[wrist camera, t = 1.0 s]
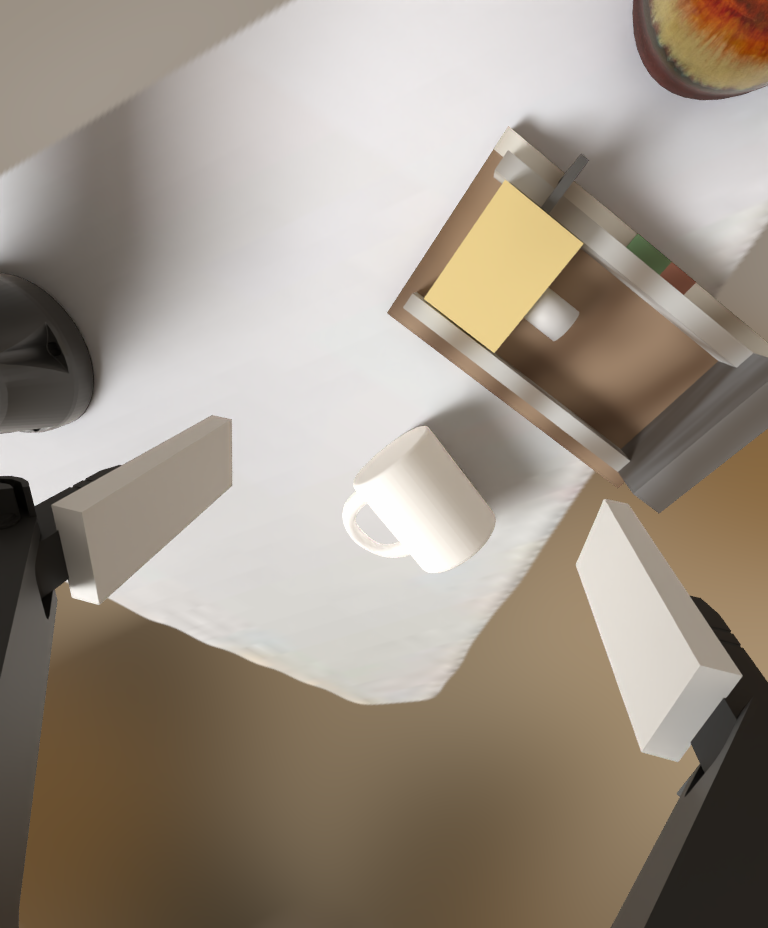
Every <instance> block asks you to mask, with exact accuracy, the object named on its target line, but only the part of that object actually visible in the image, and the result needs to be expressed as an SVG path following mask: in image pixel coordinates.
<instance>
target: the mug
mask: <svg viewBox="0 0 768 928" xmlns="http://www.w3.org/2000/svg"><path fill="white" fill-rule="evenodd" d="M353 486H354V488H355V489H356V491H355V492H354V493H353V494H352V495H351V496H350V497H349V498H348V500H347V501H346V503H345V505H344V508H343V522H344V525H345V528H346V530H347V532H348V534H349V535H350V536H351V538H352V539H353V540H354V541H355V542H356V543H357V544H358V545H360V546H361V547H363V548H364V549H366V550H368V551H370V552H372V553H374V554H377V555H380V556H383V557H389V558H399V557H405V556H408V555H411V556H412V557H413V558H414V559H415V561H416V562H417V563H418V564H419V565H420V566H421V568H422V569H423V570H425V571H427V572H430V573H440V572H444V571H447V570H450V569H453V568H455V567H457V566H459V565H460V564H462V563H464V562H465V561H467V560H468V559H469V558H471V557H472V556H473V555H474V554H475V553H477V552H478V551H479V550H480V549H481V548H482V547H483V545H484V544H485V543H486V542H487V540H488V539H489V537H490V536H491V534H492V532H493V530H494V527H495V522H496V519H495V514H494V513H493V511H492V510H491V508H490V507H489V506H488V505H487V503H486V502H485V501H484V499H483V498H482V497H481V495H480V494H479V493H478V491H477V490H476V489H475V488H474V486H473V485H472V484H471V482H470V481H469V480H468V478H467V477H466V476H465V474H464V473H463V472H462V470H461V469H460V468H459V467H458V465H457V464H456V463H455V461H454V460H453V459H452V457H451V456H450V455H449V453H448V452H447V451H446V449H445V448H444V447H443V446H442V444H441V443H440V442H439V440H438V439H437V438H436V436H435V435H434V434H433V432H432V431H431V430H430V428H429V427H427V426H419V427H416V428H414V429H412V430H410V431H408V432H406V433H405V434H403V435H401V436H400V437H398V438H397V439H395V440H394V441H393V442H391V443H390V444H388V445H387V446H386V447H385V448H383V449H382V450H381V451H380V452H379V453H377V454H376V455H375V456H374V457H373V458H372V459H371V460H370V461H369V462H368V463H367V464H366V465H365V466H364V467H363V468H362V469H361V470H360V472H359V473H358V474H357V476H356V477H355V479H354V482H353ZM367 503H368V505H369V506H370V507H371V508H372V509H373V511H374V512H375V513H376V514H377V515H378V517H379V518H380V519H381V520H382V521H383V522H384V524H385V525H386V526H387V527H388V528H389V530H390V531H391V532H392V533H393V534H394V536H395V537H396V538H397V539H398V540H399V542H397V543H393V544H381V543H378V542H376V541H374V540H372V539H371V538H370V537H369V536H367V535H366V534H365V533H364V532H363V531H362V530H361V529H360V527H359V526H358V525H357V523H356V516H357V514H358V512H359V511H360V509H361V508H362V507H363V506H364V505H366V504H367Z"/></svg>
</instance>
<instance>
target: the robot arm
mask: <svg viewBox="0 0 768 928" xmlns="http://www.w3.org/2000/svg"><path fill="white" fill-rule="evenodd" d="M92 392H93V369H92V364H91V360H90V356H89V353H88V350H87V347H86V345H85V342H84V340H83V338H82V336H81V334H80V332H79V331H78V329H77V327H76V326H75V324H74V322H73V321H72V320H71V318H70V317H69V316H68V314H67V313H66V312H65V311H64V309H63V308H62V307H61V306H60V305H59V304H58V303H57V302H56V301H55V300H54V299H53V298H52V297H51V296H50V295H48V294H47V293H46V292H45V291H43V290H42V289H41V288H39V287H37V286H36V285H34V284H33V283H31V282H29V281H27V280H25V279H22V278H20V277H17V276H14V275H10V274H4V273H0V434H2V433H11V432H17V431H20V432H27V433H35V432H45V431H49V430H53V429H55V428H58V427H61V426H63V425H66V424H69V423H71V422H73V421H75V420H76V419H78V418H79V417H80V416H81V415H82V414H83V413H84V412H85V410H86V409H87V407H88V405H89V403H90V400H91V397H92ZM231 486H232V419H227V418H223V417H218V416H213V415H211V416H210V417H208V418H206V419H204V420H202V421H201V422H199V423H197V424H195V425H193V426H192V427H190V428H188V429H186V430H184V431H183V432H181V433H179V434H177V435H176V436H174V437H172V438H170V439H168V440H167V441H165V442H163V443H161V444H159V445H158V446H156V447H154V448H152V449H150V450H149V451H147V452H145V453H143V454H141V455H140V456H138V457H136V458H134V459H133V460H131V461H129V462H127V463H125V464H124V465H118V466H115V467H111V468H108V469H104V470H101V471H99V472H97V473H95V474H93V475H92V476H90V477H88V478H86V480H85V481H83V480H82V481H81V482H79V483H77V484H75V485H73V487H72V488H71V487H69V488H68V489H66V490H64V491H62V492H60V493H58V494H56V495H55V496H53V497H51V498H49V499H47V500H45V501H43V502H42V503H40V504H38V505H36V506H34V503H33V499H32V495H31V491H30V487H29V483H28V481H26V480H25V479H23V478H20V477H14V476H0V928H19V904H20V895H21V887H22V879H23V871H24V863H25V854H26V847H27V839H28V831H29V823H30V815H31V807H32V799H33V791H34V782H35V775H36V767H37V759H38V751H39V743H40V734H41V727H42V719H43V710H44V703H45V695H46V686H47V679H48V671H49V663H50V655H51V646H52V638H53V630H54V623H55V614H56V607H57V597H56V593H55V589H56V588H57V587H58V586H60V585H61V584H62V583H63V582H65V581H66V580H67V579H68V582H69V586H70V590H71V595H72V597H73V598H76V599H79V600H83V601H87V602H90V603H94V604H98V605H100V604H101V603H102V602H103V601H104V600H105V599H107V598H108V597H109V596H110V595H111V594H112V593H113V592H114V591H115V590H117V589H118V588H119V587H120V586H121V585H122V584H123V583H124V582H125V581H127V580H128V579H129V578H130V577H131V576H132V575H133V574H134V573H135V572H137V571H138V570H139V569H140V568H141V567H142V566H143V565H144V564H145V563H147V562H148V561H149V560H150V559H151V558H152V557H153V556H154V555H155V554H157V553H158V552H159V551H160V550H161V549H162V548H163V547H164V546H166V545H167V544H168V543H169V542H170V541H171V540H172V539H173V538H174V537H176V536H177V535H178V534H179V533H180V532H181V531H182V530H183V529H184V528H186V527H187V526H188V525H189V524H190V523H191V522H192V521H193V520H194V519H196V518H197V517H198V516H199V515H200V514H201V513H202V512H203V511H204V510H206V509H207V508H208V507H209V506H210V505H211V504H212V503H213V502H215V501H216V500H217V499H218V498H219V497H220V496H221V495H222V494H223V493H225V492H226V491H227V490H228V489H229V488H230V487H231ZM576 567H577V569H578V572H579V575H580V578H581V581H582V584H583V586H584V589H585V592H586V595H587V598H588V601H589V603H590V607H591V609H592V612H593V615H594V618H595V621H596V624H597V627H598V629H599V632H600V635H601V638H602V641H603V644H604V647H605V649H606V652H607V655H608V658H609V661H610V664H611V666H612V669H613V672H614V675H615V678H616V681H617V683H618V686H619V689H620V692H621V695H622V698H623V701H624V704H625V706H626V709H627V712H628V715H629V718H630V721H631V723H632V726H633V729H634V732H635V735H636V738H637V741H638V744H639V746H640V749H641V752H643V753H647V754H651V755H654V756H658V757H662V758H665V759H669V760H673V761H676V762H678V761H679V760H680V759H681V757H682V756H683V755H684V753H685V752H686V751H687V749H688V748H689V747H690V745H692V747H693V749H694V751H695V753H696V755H697V758H698V760H699V762H700V765H699V766H698V767H697V768H696V770H695V771H694V772H693V774H692V775H691V776H690V777H689V778H688V780H687V781H686V782H685V783H684V785H683V786H682V787H681V789H680V790H679V791H678V792H677V795H678V796H680V798H679V800H678V802H677V804H676V805H675V807H674V809H673V811H672V813H671V815H670V817H669V819H668V821H667V822H666V825H665V826H664V828H663V830H662V832H661V834H660V836H659V838H658V840H657V841H656V843H655V845H654V847H653V849H652V851H651V853H650V855H649V856H648V858H647V860H646V862H645V864H644V866H643V868H642V870H641V872H640V873H639V875H638V877H637V879H636V881H635V883H634V885H633V887H632V889H631V891H630V892H629V894H628V896H627V898H626V900H625V902H624V904H623V906H622V907H621V909H620V911H619V913H618V915H617V917H616V919H615V921H614V923H613V924H612V927H611V928H768V682H767V681H766V680H765V678H764V677H763V675H762V674H761V672H760V671H759V669H758V668H757V667H756V665H755V664H754V662H753V661H752V660H751V658H750V657H749V655H748V654H747V653H746V651H745V650H744V648H741V647H740V643H739V642H738V640H737V639H736V637H735V636H734V634H731V633H730V632H731V630H730V629H729V628H728V626H727V625H726V623H725V622H724V620H723V619H722V618H721V616H720V615H719V614H718V613H717V612H716V611H715V610H714V609H712V608H711V607H710V606H709V605H708V604H707V603H706V602H704V601H703V600H702V599H701V598H697V597H693V596H689V594H688V593H687V591H686V590H685V589H684V587H683V585H682V584H681V582H680V581H679V579H678V578H677V576H676V575H675V573H674V572H673V570H672V569H671V567H670V566H669V564H668V563H667V562H666V560H665V558H664V557H663V555H662V554H661V553H660V551H659V550H658V548H657V546H656V545H655V543H654V542H653V540H652V539H651V537H650V536H649V534H648V533H647V531H646V530H645V528H644V527H643V525H642V524H641V522H640V521H639V519H638V518H637V516H636V515H635V513H634V512H633V510H632V509H631V507H630V506H629V504H626V503H621V502H617V501H612V500H607V499H604V501H603V503H602V505H601V508H600V510H599V512H598V515H597V517H596V519H595V522H594V524H593V526H592V529H591V531H590V533H589V536H588V538H587V540H586V543H585V545H584V547H583V550H582V552H581V554H580V556H579V559H578V561H577V563H576Z"/></svg>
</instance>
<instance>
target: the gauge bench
mask: <svg viewBox="0 0 768 928" xmlns="http://www.w3.org/2000/svg"><path fill="white" fill-rule="evenodd" d="M564 174H565V173H564V172H563V171H562V170H560V169H559V168H558V167H557V166H556V165H554V164H553V163H552V162H551V161H550V160H548V159H547V158H546V157H545V156H544V155H542V154H541V153H540V152H539V151H538V150H536V149H535V148H534V147H533V146H532V145H530V144H529V143H528V142H527V141H526V140H524V139H523V138H522V137H521V136H520V135H518V134H517V133H516V132H515V131H514V130H512V129H511V128H510V127H509V126H508V127H507V129H506V131H505V132H504V134H503V135H502V137H501V138H500V140H499V141H498V143H497V144H496V146H495V147H494V150H493V151H492V153H491V154H490V156H489V157H488V159H487V160H486V162H485V163H484V165H483V166H482V168H481V170H480V171H479V173H478V174H477V176H476V177H475V179H474V180H473V182H472V183H471V185H470V186H469V188H468V190H467V191H466V193H465V194H464V196H463V197H462V199H461V200H460V202H459V203H458V205H457V206H456V208H455V209H454V211H453V213H452V214H451V216H450V217H449V219H448V220H447V222H446V223H445V225H444V226H443V228H442V229H441V231H440V233H439V234H438V236H437V237H436V239H435V240H434V242H433V243H432V245H431V246H430V248H429V249H428V251H427V252H426V254H425V256H424V257H423V259H422V260H421V262H420V263H419V265H418V266H417V268H416V269H415V271H414V272H413V274H412V276H411V277H410V279H409V280H408V282H407V283H406V285H405V286H404V288H403V289H402V291H401V292H400V294H399V295H398V297H397V299H396V300H395V302H394V303H393V305H392V306H391V308H390V309H389V311H388V312H387V313H388V314H389V315H390V316H392V317H393V318H394V319H396V320H397V321H398V322H400V323H401V324H402V325H403V326H405V327H406V328H407V329H409V330H410V331H411V332H413V333H414V334H415V335H417V336H418V337H419V338H421V339H422V340H423V341H425V342H426V343H427V344H428V345H430V346H431V347H432V348H434V349H435V350H436V351H438V352H439V353H440V354H442V355H443V356H444V357H446V358H447V359H448V360H450V361H451V362H452V363H454V364H455V365H456V366H457V367H459V368H460V369H461V370H463V371H464V372H465V373H467V374H468V375H469V376H471V377H472V378H473V379H475V380H476V381H477V382H479V383H480V384H481V385H482V386H484V387H485V388H486V389H488V390H489V391H490V392H492V393H493V394H494V395H496V396H497V397H498V398H500V399H501V400H502V401H504V402H505V403H506V404H507V405H509V406H510V407H511V408H513V409H514V410H515V411H517V412H518V413H519V414H521V415H522V416H523V417H525V418H526V419H527V420H529V421H530V422H531V423H532V424H534V425H535V426H536V427H538V428H539V429H540V430H542V431H543V432H544V433H546V434H547V435H548V436H550V437H551V438H552V439H554V440H555V441H556V442H558V443H559V444H560V445H561V446H563V447H564V448H565V449H567V450H568V451H569V452H571V453H572V454H573V455H575V456H576V457H577V458H579V459H580V460H581V461H583V462H584V463H585V464H586V465H588V466H589V467H590V468H592V469H593V470H594V471H596V472H597V473H598V474H600V475H601V476H602V477H604V478H605V479H606V480H608V481H609V482H610V483H612V484H613V485H614V486H615V487H617V488H619V487H620V486H621V485H622V484H623V483H624V482H625V483H626V484H627V486H628V487H629V489H630V490H631V491H632V493H633V494H634V495H636V496H637V497H638V498H639V499H641V500H642V501H644V502H645V503H646V504H647V505H649V506H650V507H651V508H652V509H654V510H655V511H656V512H658V513H660V512H661V511H663V510H664V509H665V508H667V507H668V506H669V505H670V504H672V503H673V502H674V501H676V500H677V499H678V498H679V497H680V496H682V495H683V494H684V493H686V492H687V491H688V490H690V489H691V488H692V487H693V486H695V485H696V484H697V483H699V482H700V481H701V480H702V479H704V478H705V477H706V476H708V475H709V474H710V473H711V472H713V471H714V470H715V469H716V468H718V467H719V466H720V465H722V464H723V463H724V462H725V461H726V460H728V459H729V458H730V457H732V456H733V455H734V454H736V453H737V452H738V451H739V450H741V449H742V448H743V447H744V446H746V445H747V444H748V443H750V442H751V441H752V440H754V439H755V438H756V437H757V436H759V435H760V434H761V433H762V432H764V431H765V430H766V429H768V342H767V341H765V340H764V339H763V338H762V337H761V336H759V335H758V334H757V333H756V332H754V331H753V330H752V329H751V328H750V327H749V326H747V325H746V324H745V323H744V322H743V321H741V320H740V319H739V318H738V317H736V316H735V315H734V314H733V313H732V312H731V311H729V310H728V309H727V308H726V307H725V306H723V305H722V304H721V303H720V302H719V301H717V300H716V299H715V298H714V297H713V296H711V295H710V294H709V293H708V292H707V291H705V290H704V289H703V288H702V287H701V286H699V285H698V284H697V283H696V282H695V281H694V280H693V279H692V278H691V277H689V276H688V275H687V274H686V273H685V272H683V271H682V270H681V269H680V268H679V267H677V266H676V265H675V264H674V263H673V262H671V261H670V260H669V259H668V258H667V257H665V256H664V255H663V254H662V253H661V252H659V251H658V250H657V249H656V248H655V247H653V246H652V245H651V244H650V243H649V242H647V241H646V240H645V239H644V238H643V237H641V236H640V235H639V234H637V233H636V232H635V231H634V230H632V229H631V228H630V227H629V226H628V225H626V224H625V223H624V222H623V221H622V220H620V219H619V218H618V217H617V216H616V215H614V214H613V213H612V212H611V211H610V210H608V209H607V208H606V207H605V206H604V205H602V204H601V203H600V202H599V201H598V200H596V199H595V198H594V197H593V196H592V195H590V194H589V193H588V192H587V191H586V190H584V189H583V188H582V187H581V186H580V185H578V184H577V183H576V182H575V181H573V182H572V184H571V185H570V186H569V188H568V189H567V190H566V192H565V193H564V194H563V196H562V197H561V198H560V200H559V201H558V202H557V204H556V205H555V206H554V208H553V209H552V210H551V212H550V213H549V214H548V215H549V216H550V217H552V218H553V219H554V220H555V221H557V222H558V223H559V224H560V225H561V226H563V227H564V228H565V229H566V230H568V231H569V232H570V233H571V234H572V235H574V236H575V237H576V238H577V239H579V240H580V241H581V242H582V243H583V245H582V246H581V248H580V249H579V250H578V251H577V253H576V254H575V255H574V256H573V257H572V259H571V260H570V261H569V262H568V264H567V265H566V266H565V267H564V268H563V270H562V271H561V272H560V273H559V275H558V276H557V277H556V278H555V280H554V281H553V282H552V283H551V284H550V286H549V288H550V289H551V290H552V291H554V292H555V293H556V294H557V295H559V296H560V297H561V298H562V299H564V300H565V301H566V302H567V303H569V304H570V305H571V306H572V307H574V308H575V309H576V310H577V311H579V316H578V318H577V319H576V321H575V322H574V323H573V325H572V326H571V327H570V328H569V329H568V331H567V332H566V333H565V334H564V335H563V336H561V337H560V338H559V339H558V340H556V341H552V340H551V339H550V338H549V337H547V336H546V335H545V334H544V333H542V332H541V331H540V330H538V329H537V328H536V327H535V326H533V325H532V324H531V323H530V322H528V321H527V320H526V319H524V318H523V319H522V320H521V321H520V322H519V324H518V325H517V326H516V327H515V328H514V330H513V331H512V332H511V333H510V335H509V336H508V337H507V338H506V339H505V341H504V342H503V343H502V344H501V346H500V347H499V348H498V349H497V350H496V352H495V353H493V352H492V351H491V350H489V349H488V348H487V347H486V346H484V345H483V344H482V343H480V342H479V341H478V340H476V339H475V338H474V337H473V336H471V335H470V334H469V333H467V332H466V331H465V330H464V329H462V328H461V327H460V326H458V325H457V324H456V323H454V322H453V321H452V320H451V319H449V318H448V317H447V316H445V315H444V314H443V313H441V312H440V311H439V310H438V309H436V308H435V307H434V306H432V305H431V304H430V303H428V302H427V301H426V300H425V299H424V298H425V296H426V295H427V293H428V292H429V290H430V289H431V287H432V286H433V285H434V283H435V282H436V280H437V279H438V277H439V276H440V274H441V273H442V271H443V270H444V268H445V267H446V265H447V264H448V263H449V261H450V260H451V258H452V257H453V255H454V254H455V252H456V251H457V249H458V248H459V246H460V245H461V244H462V242H463V241H464V239H465V238H466V236H467V235H468V233H469V232H470V230H471V229H472V227H473V226H474V224H475V223H476V222H477V220H478V219H479V217H480V216H481V214H482V213H483V211H484V210H485V208H486V207H487V205H488V204H489V203H490V201H491V200H492V198H493V197H494V195H495V194H496V192H497V191H498V189H499V188H500V186H501V185H502V184H503V182H504V181H505V180H506V181H508V182H509V183H510V184H511V185H513V186H514V187H515V188H516V189H517V190H519V191H520V192H521V193H522V194H524V195H525V196H526V197H527V198H528V199H530V200H531V201H532V202H533V203H535V204H536V205H537V206H538V207H539V208H541V207H542V205H543V204H544V203H545V201H546V200H547V199H548V197H549V196H550V195H551V193H552V192H553V191H554V189H555V188H556V186H557V185H558V184H559V183H558V182H559V180H560V179H561V178H562V176H563V175H564Z"/></svg>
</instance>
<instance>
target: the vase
mask: <svg viewBox="0 0 768 928" xmlns="http://www.w3.org/2000/svg"><path fill="white" fill-rule="evenodd" d="M633 27H634V36H635V41H636V45H637V50H638V52H639V55H640V57H641V60H642V62H643V64H644V66H645V67H646V69H647V70H648V72H649V74H650V75H651V76H652V77H653V78H654V79H655V80H656V81H657V82H658V83H659V84H660V85H661V86H662V87H664V88H665V89H667V90H668V91H670V92H672V93H674V94H677V95H679V96H682V97H685V98H691V99H698V100H718V99H725V98H730V97H734V96H739V95H743V94H746V93H749V92H751V91H754V90H757V89H760V88H762V87H765V86H767V85H768V0H633Z"/></svg>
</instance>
